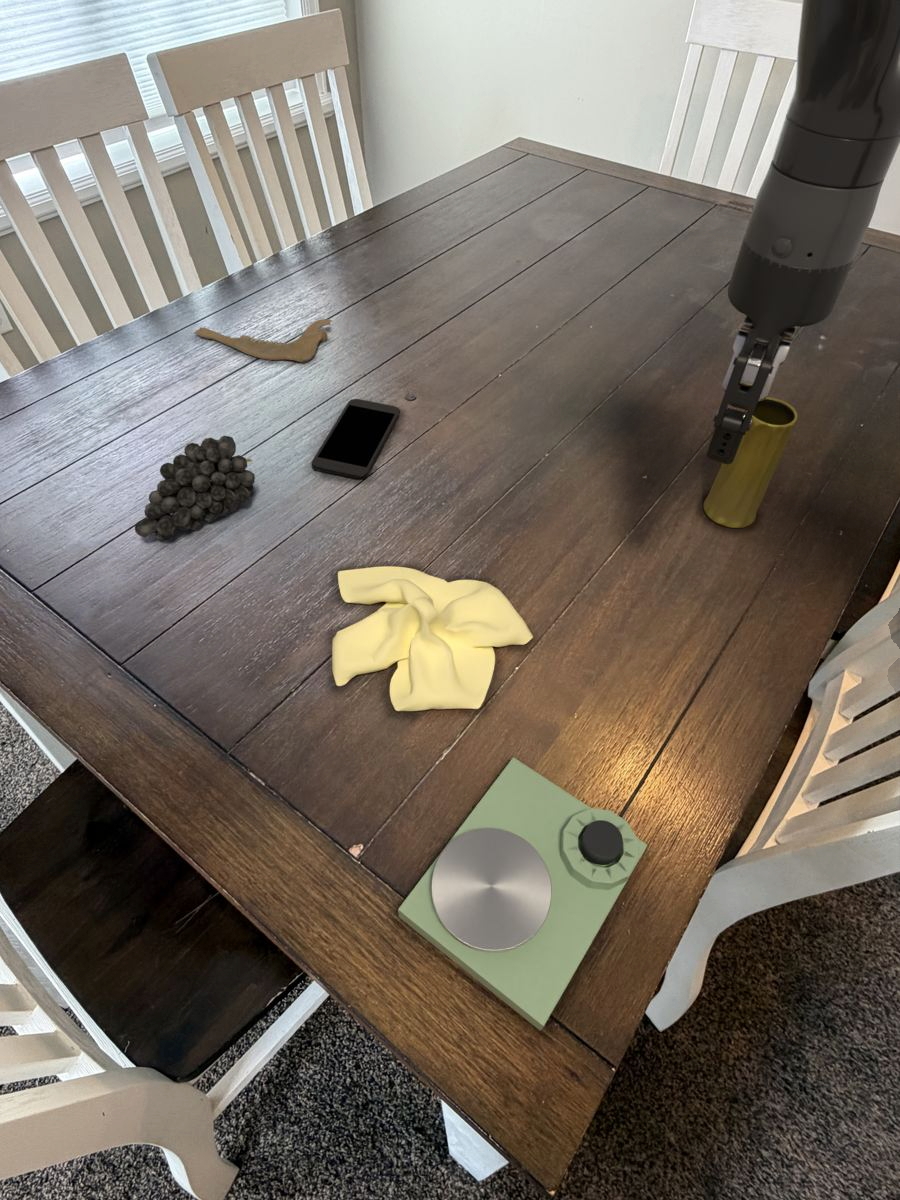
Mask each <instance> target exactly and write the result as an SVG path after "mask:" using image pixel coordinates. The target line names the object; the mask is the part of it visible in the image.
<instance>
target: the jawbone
mask: <svg viewBox="0 0 900 1200" xmlns="http://www.w3.org/2000/svg"><path fill="white" fill-rule="evenodd" d="M332 322H333V319H329V318H321V319H318V320H316V321H313V322H312V323H311V324H310V325H308V326H307V327H306V329H305V330H304V331H303V333H302V334H301V335H300V336H299V337H298V338H297V339H295V340H293V341H291V342H288V343H287V342H282V341H279V342H278V341H277V340H275V341H273V340H271V341H269V340H268V339H267V340H264V339H260V338H258V339H256V338H255V337H250V335H245V334H242V335H240V336H239V337H230V336H227V335H224V334H221V333H219V332H217V331H215V330H212V329H209V328H206V327H204V326H203V327H202V326H201V327H200V328H198V329H197V330H195V331H194V332H193V334H195V335H197V336H199V337H202V338H205V339H209V340H212V341H218V342H220V343H221V344H224V345H226V346H228V347H230V348H233V349H235V350H237V351H239V352H242V353H243V354H246V355H248V356H251V357H254V358H256V359H257V358H258V359H262V360H268V361H269V360H270V361H271V360H272V361H281V360H283V361H284V360H285V361H295V362H300V363H301V362H308V361H310V360H311V359H312V358H313V357H314V356H315V355H316V351H317V349H318V344H319V343H320V342H326V340H327V339H328V332H327V329H325V328H324V329H323V327H325V326H331V325H332V324H331V323H332ZM321 328H322V329H321ZM320 329H321V330H320Z"/></svg>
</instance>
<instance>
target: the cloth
mask: <svg viewBox="0 0 900 1200" xmlns="http://www.w3.org/2000/svg"><path fill="white" fill-rule="evenodd" d="M337 580H338V588H339V592H340V596H341V598H342V600H343V601H344V602H345V603H347V604H350V603H351V604H358V605H369V606H371V605H375V604H377V603H382V602H383V603H384V602H385V604H384V605H382V606H381V607H380V608H378V609H377V611H374V612H373V613H371V614H370V615H368V616H367V617H365V618H363V619H361V620H360V621H358V622H355V623H353V624H351V625H349V626H347V627H345V628H343V629H340V630H337V632H336V633H335V635H334V637H333V638H332V642H331V643H332V645H331V670H332V674H333V678H334V681H335V682H334V683H335V685H336V687H342V686H344V685H346V684H347V683H348V682H349V681H350V680H352V679H353V678H354V677H355V676H357V675H358V676H359V675H364V674H370V673H375V672H379V671H382V670H386V669H388V668H390V667H391V666H393V665H394V664H395V663H396V662H397V667H396V669H395V671H394V673H393V675H392V677H391V679H390V683H389V697H390V702H391V704H392V707H393V708H394V710H395V711H396V712H419V711H426V710H427V711H428V710H447V709H449V710H451V709H473V710H478V709H480V708H481V707H482V705H483V703H484V701H485V699H486V696H487V694H488V690H489V687H490V685H491V684H492V683H491V682H492V680H493V674H494V671H495V665H496V655H495V649H494V648H493V647H495V648H503V647H508V646H524V645H526V644H528V643H529V642H530V641H532V639H533V638H534V635H533V634H532V632H531V630H530V629H529V627H528V625H527V623H526V621H525V620H524V618H523V617H522V616H521V615H520V614H519V613H518V611H517V610H516V608H515V607H514V606H513V604H512V603H511V602H510V600H509V599H508V598H507V596H505V595H504V593H503V592H502V590H500V589H498V588H497V587H495V586H494V585H492V584H490V583H489V582H486V581H482V580H476V579H458V580H452V581H449V582H448V581H446V580H445V579H443V578H440V577H437V576H433V575H430V574H428V573H425V572H423V571H421V570H418V569H415V568H410V567H403V566H391V565H389V566H387V565H386V566H385V565H384V566H372V567H365V568H362V567H361V568H355V569H347V570H346V569H345V570H339V571H338V572H337Z"/></svg>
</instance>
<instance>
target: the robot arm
mask: <svg viewBox="0 0 900 1200" xmlns="http://www.w3.org/2000/svg"><path fill="white" fill-rule="evenodd" d="M801 4H802V5H801V6H802V7H801V13H800V14H801V15H800V25H799V32H798V41H797V53H796V73H795V74H796V75H795V84H794V85H795V86H794V92H793V94H792V97H791V99H790V102H789V105H788V108H787V111H786V114H785V117H784V121H783V123H782V128H781V130H780V133H779V136H778V139H777V143H776V145H775V149H774V151H773V156H772V159H771V161H770V163H769V167H768V170H767V172H766V174H765V176H764V178H763V181H762V182H761V184H760V188H759V190H758V193H757V194H756V198H755V200H754V203H753V206H752V210H751V214H750V216H749V219H748V223H747V227H746V228H745V229H746V230H745V233H744V236H743V239H742V242H741V245H740V248H739V252H738V255H737V258H736V261H735V265H734V268H733V271H732V274H731V276H730V277H731V278H730V280H729V284H728V286H727V297H728V300H729V302H730V304H731V305H732V306H733V308H734V309H735V310H736V311H738V312H739V313H740V314H743V315H744V318H743V321H742V325H741V327H740V328H739V329H738V332H737V334H736V336H735V340H734V342H733V345H732V358H731V360H730V363H729V366H728V368H727V371H726V373H725V375H724V376H725V377H724V379H723V382H722V390H723V391H724V395H723V396H722V400H721V402H720V406H719V408H718V410H717V412H716V414H715V415H714V417H713V420H712V422H713V428H714V430H713V434H712V436H711V440H710V443H709V445H708V448H707V451H706V454H705V455H706V458H707V459H708V460H709V461H714V462H718V463H721V464H722V463H724V464H731V463H732V462H733V460H734V458H735V455H736V453H737V450H738V448H739V445H740V442H741V440H742V437H743V435H745V434H746V431H749V429H750V427H751V423H752V421H753V419H751V418H752V416H753V413H754V411H755V408H756V406H757V403H758V402H759V401H762V400H764V399H765V398H766V397H768V396H769V393H770V390H771V388H772V385H773V382H774V380H775V377H776V374H777V372H778V370H779V367H780V366H781V365H783V364H784V362H785V360H786V358H787V356H788V354H789V351H790V348H791V346H792V343H793V342H792V341H793V339H794V338H795V337H794V336H795V334H796V332H797V329H798V327H800V328H803V327H809V326H812V325H816V324H818V323H820V322H822V321H824V320H826V318H828V317H829V316H830V315H831V314H832V311H833V309H834V308H835V305H836V303H837V300H838V298H839V296H840V293H841V291H842V289H843V287H844V284H845V282H846V280H847V277H848V275H849V273H850V270H851V268H852V266H853V264H854V262H855V259H856V256H857V255H858V252H859V249H860V247H861V244H862V242H863V240H864V238H865V235H866V233H867V231H868V229H869V226H870V224H871V221H872V219H873V216H874V213H875V210H876V207H877V204H878V200H879V196H880V192H881V189H882V187H883V183H884V181H885V178H886V176H887V174H888V171H889V169H890V167H891V165H892V162H893V160H894V157H895V156H896V153H897V151H898V148H899V146H900V0H802V3H801ZM729 406H731V407H734V408H735V409H734V408H730V407H729ZM736 408H737V409H736ZM738 409H740V410H738ZM742 410H744V411H745V410H748V411H747V414H746V412H744V411H742Z"/></svg>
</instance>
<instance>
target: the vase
mask: <svg viewBox="0 0 900 1200" xmlns="http://www.w3.org/2000/svg"><path fill="white" fill-rule="evenodd" d="M747 411H748V410H744V411H743V412H746V414H747ZM751 419H753V421H752V423H751V427H750V429H749V431H746V434H745V435H743V437H742V440H741V442H740V445H739V448H738V450H737V453H736V455H735V458H734V460H733V462H732V463H731V464H724V463H721V465H720V468H719V471H718V473H717V475H716V477H715V479H714V480H713V481H714V482H713V484H712V486H711V488H710V490H709V493H708V494H707V496H706V498H705V500H704V502H703V511H704V513H705V515H706V516H707V517H708V518H709V519H710V520H711V521H712V522H714V523H716V524H718V525H720V526H722V527H726V528H730V529H742V528H743V529H744V528H746V527H748V526H750V525H752V524H753V523H754V522H755V520H756V517H757V512H758V509H759V507H760V505H761V503H762V501H763V499H764V497H765V495H766V492H767V490H768V487H769V484H770V482H771V480H772V478H773V475H774V473H775V471H776V469H777V466H778V464H779V461H780V459H781V457H782V456H783V455H782V454H783V452H784V450H785V447H786V445H787V443H788V441H789V438H790V436H791V434H792V432H793V429H794V427H795V425H796V423H797V420H798V412H797V410H796V409H795V407H793V406H792V405H791V404H789V403H788V402H786V401H785V400H782V399H779V398H775V397H770V396H769V397H768V396H767V397H766V398H765V399H764V400H762V401H759V402H758V403H757V406H756V408H755V411H754V413H753V416H752V418H751Z"/></svg>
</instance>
